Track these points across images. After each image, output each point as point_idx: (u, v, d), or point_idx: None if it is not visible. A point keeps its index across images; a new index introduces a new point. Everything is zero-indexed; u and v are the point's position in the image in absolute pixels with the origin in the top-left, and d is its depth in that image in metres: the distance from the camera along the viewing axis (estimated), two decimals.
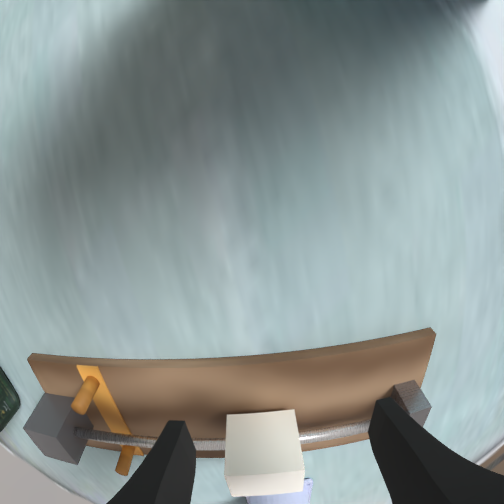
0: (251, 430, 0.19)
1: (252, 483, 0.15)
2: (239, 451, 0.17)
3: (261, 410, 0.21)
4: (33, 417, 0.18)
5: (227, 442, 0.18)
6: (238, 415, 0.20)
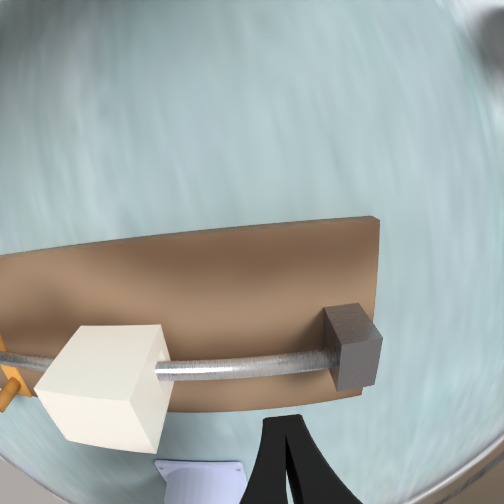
0: (94, 343, 0.13)
1: (72, 415, 0.10)
2: (66, 364, 0.12)
3: None
4: None
5: (61, 353, 0.12)
6: (92, 326, 0.15)
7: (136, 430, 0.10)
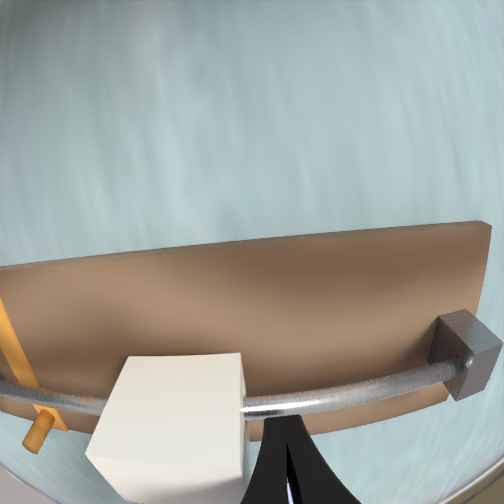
0: (157, 382, 0.11)
1: (143, 481, 0.07)
2: (124, 415, 0.09)
3: None
4: None
5: (112, 398, 0.10)
6: (145, 358, 0.12)
7: (235, 492, 0.07)
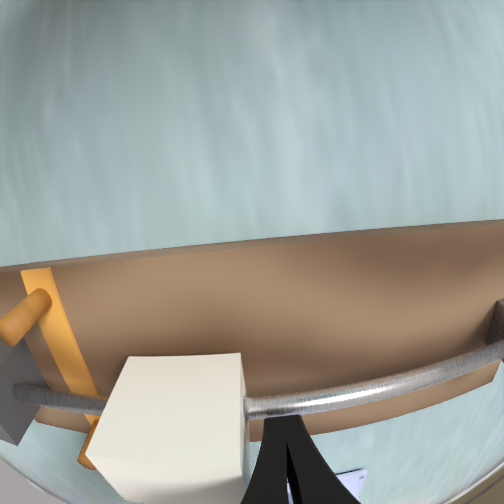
0: (157, 382, 0.11)
1: (143, 481, 0.07)
2: (124, 415, 0.09)
3: (322, 345, 0.13)
4: None
5: (112, 398, 0.10)
6: (145, 358, 0.12)
7: (235, 492, 0.08)
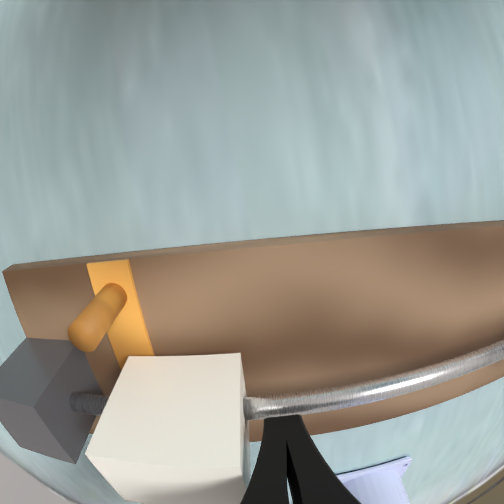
0: (157, 382, 0.11)
1: (143, 481, 0.07)
2: (125, 415, 0.09)
3: (404, 331, 0.13)
4: None
5: (112, 397, 0.10)
6: (145, 358, 0.12)
7: (235, 492, 0.08)
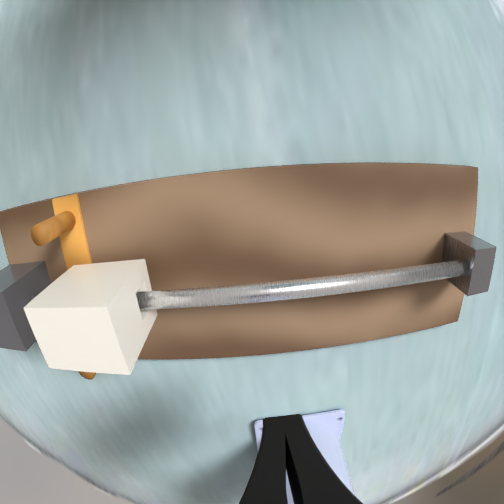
0: (84, 274, 0.15)
1: (56, 333, 0.12)
2: (56, 289, 0.13)
3: (286, 254, 0.18)
4: None
5: (53, 283, 0.14)
6: (83, 265, 0.16)
7: (112, 343, 0.12)
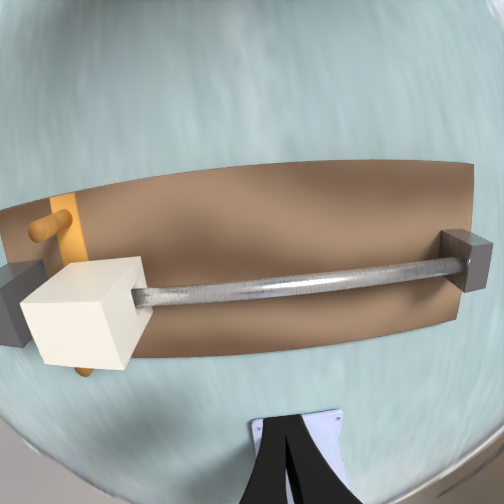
0: (80, 271, 0.15)
1: (51, 328, 0.12)
2: (52, 285, 0.13)
3: (281, 251, 0.18)
4: None
5: (49, 280, 0.14)
6: (80, 262, 0.16)
7: (105, 338, 0.12)
